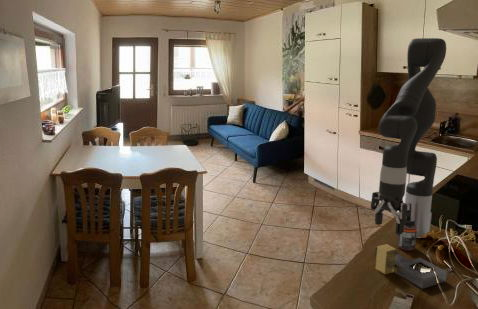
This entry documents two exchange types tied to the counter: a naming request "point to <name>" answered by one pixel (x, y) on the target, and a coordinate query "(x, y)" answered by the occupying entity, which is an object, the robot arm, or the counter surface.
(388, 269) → the peg
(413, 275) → the grey square paddle
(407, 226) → the supplement bottle
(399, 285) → the counter surface
